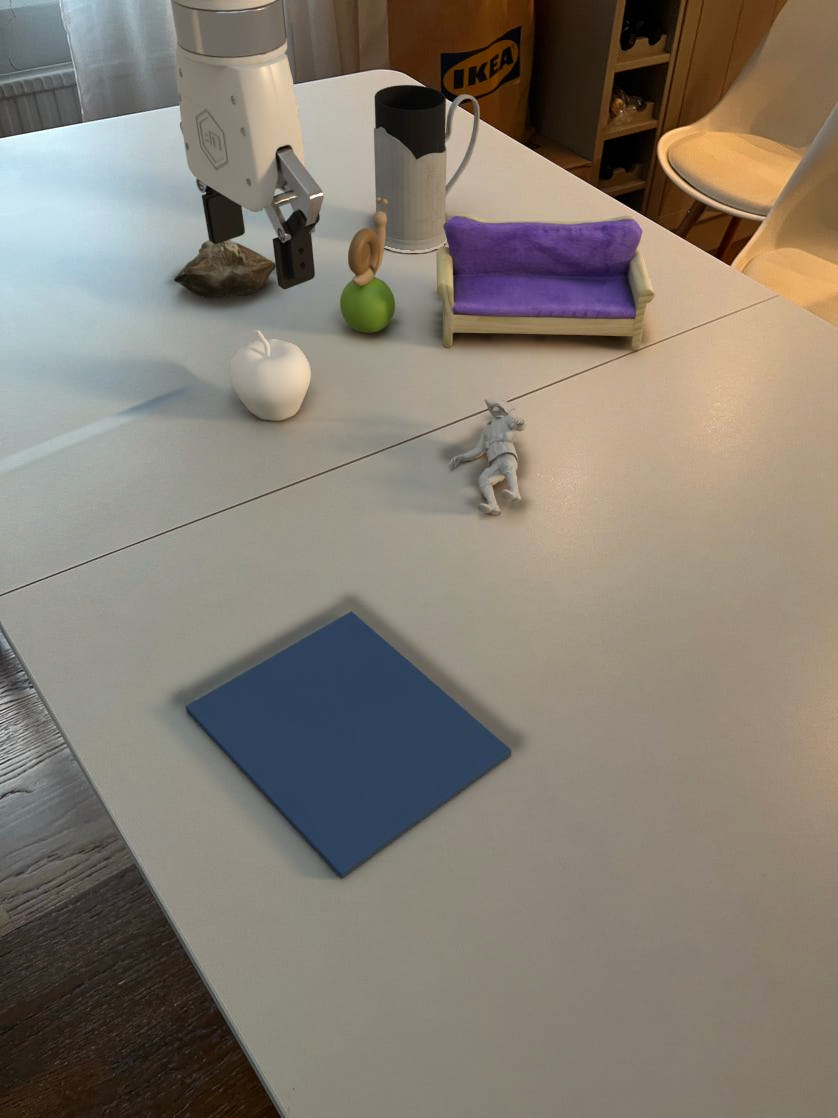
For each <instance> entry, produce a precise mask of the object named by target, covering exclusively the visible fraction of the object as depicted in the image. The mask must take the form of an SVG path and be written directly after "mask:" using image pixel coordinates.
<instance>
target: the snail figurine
mask: <svg viewBox="0 0 838 1118" xmlns="http://www.w3.org/2000/svg"><path fill="white" fill-rule="evenodd" d="M376 202H377V203H378V204H379V203H381V202H382V204H383V205H385V212H383V211H380V205H379V211H378V212H376V211H375V213H374V215H373V217H372V218H373V224H374V225H373V229H372V228H368V227H364V228H361V229H359V230H358V231H357V232H355V234H354V236H353V237H352V239H351V241H350V243H349V247H348V252H347V262H348V263H347V264H348V267H349V269H350V271H351V272H352V273H353V274H354V277H352V280H350V281H349V282H348V283H347V284H346V285H345V287H344V288H343V289H342V292H341V295H340V298H339V299H340V301H339V307H340V312H341V315H342V318H343V319H344V321H345V322H346V323H347V324H348V326H350V327H351V328H352V329H354V330H355V331H357V332H359V333H364V334H374V333H377V332H380V331H381V330H383V329H385V328H386V327H388V325H389V324H390V322H391V321H392V319H393V317H394V315H395V310H396V301H395V300H396V299H395V296H394V293H393V291H392V289H391V288H390V286H389V285H388V284H387V283H386V282H385V281H384V280H382V279H381V278H379V277H377V276H376V274H377V272H378V271H379V269H380V267H381V265H382V262H383V257H384V254H385V253H384V252H385V249H384V247H385V237H386V232H385V226H386V222H387V216H386V205H387V203H388V201H387V200H386V199H383V200H381V198H379V197H378V198H377V199H376V198H375V203H376Z"/></svg>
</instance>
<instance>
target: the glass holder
mask: <svg viewBox="0 0 838 1118" xmlns="http://www.w3.org/2000/svg"><path fill="white" fill-rule="evenodd" d="M468 99H469V100H470V101H471V103H472V105H473V123H472V124H473V125H472V130H471V136H470V140H469V143H468V147H467V149H466V152H465V154H464V157H463V159H462V160H461V163H460V165H459V166H458V168H457V170H456V171H455V173H454V174H453V175H452V177H451V178H450V179H449V181H448V183H447V152H448V151H447V146H446V143H447V142H448V141H449V140H450V139H451V136H452V131H453V119H454V116H455V112H456V110H457V107H458V106H459V105H460V104H461V102H462V101H464V100H468ZM446 112H447V98H446V95H445V94H444V93H443V92H442V91H440V90H438V89H435V88H432V87H429V86H424V85H418V84H399V85H391V86H387V87H384V88H381V89H380V90H378V91H376V92H375V94H374V126H375V127H373V145H374V146H373V149H374V154H373V155H374V181H375V183H374V184H375V185H374V186H375V200H376V199H377V198H378V197H379V198H381V200H383V199H386V200H387V201H388V203H387V205H386V216H387V222H386V226H385V232H386V237H385V246H388V247H391V248H395V249H400V250H410V251H415V250H425V249H430V248H433V247H436V246H438V245H440V244H442V243H443V242H444V241H445V240H446V239H447V238H446V234H445V230H444V227H443V225H444V223H446V202H447V201H446V199H447V196H448V194H449V192H451V190H452V189H453V188H454V186H455V184H456V183H457V182H458V180H459V179H460V177H461V175H462V174H463V173H464V171H465V170H466V168H467V166H468V164H469V163H470V160H471V158H472V155H473V153H474V150H475V146H476V144H477V143H476V142H477V140H478V135H479V129H480V118H481V112H480V105H479V102H478V100H477V99H476V98H475V97H474V96H473V95H470V94H465V93H463V94H460V95H458V96H457V97H456V98H454V100H453V101H452V102H451V104H450V106H449V108H448V112H447V113H446ZM446 115H447V116H446ZM379 205H380V211H383V212H385V205H383V204H382V202H381V203H379V204H378V203H377V202H376V201H375V213H376V212H378V211H379Z"/></svg>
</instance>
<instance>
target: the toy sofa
mask: <svg viewBox="0 0 838 1118" xmlns="http://www.w3.org/2000/svg"><path fill="white" fill-rule="evenodd" d="M443 227H444V230H445V234H446V238H447V246H446V245H445V246H442V247H440V248H439V249H438V250H436V254H435V255H436V291H437V294H438V296H439V297H440V298H442V306H443V326H442V346H443V347H445V348H450V347H452V346H453V334H456V333H463V334H464V333H465V334H468V333H469V334H472V333H473V334H522V335H523V334H527V335H566V336H567V335H568V336H569V335H570V336H573V335H574V336H609V337H627V339H628V343H629V346H630V349H632V350H634V351H637V350H639V349H640V347H641V342H642V335H643V328H644V321H645V315H646V309H647V304H649V303H651V302H652V301H653V300H654V299H655V295H656V294H655V291H654V287H653V283H652V281H651V278H650V275H649V272H648V269H647V265H646V262H645V259H644V255H643V253H642V252H641V251H640V250H639V249H638V247H639V245H640V243H641V239H642V235H643V229H642V228H641V226H640V224H639V222H637V219H636V218H635V217H634V216H633V215H621V216H617V217H611V218H607V219H600V220H553V221H551V220H490V219H485V218H481V217H479V216H475V215H473V214H469V213H466V212H461V211H460V212H459V211H456V212H455V213H454V212H453V213H452V215H451V216H450V219H448V220H447V221H445V223H444V225H443Z"/></svg>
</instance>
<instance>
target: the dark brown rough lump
mask: <svg viewBox="0 0 838 1118" xmlns="http://www.w3.org/2000/svg"><path fill="white" fill-rule="evenodd" d="M275 270H276V264H275V262H274V261H272V260H271V259H269V258H267V257H265V256H264V255H262V254H260V253H259V252H257V251H255V250H252V249H250V248H249V247H246V246H245V245H243V244H240V243H237V242H236V241H233V240H231V239H230V240H227V241H224V242H221V243H219V244H214V243H212V242H211V241H210V240H209V239H208V240H206V241H205V242H203V243H201V247H200V248H199V249H198V254H197V255H196V257H194V258H193V259H192V260H190V261H189V262H187V264H186V265H184V267H183V268H182V269H181V270H180V271H179V272H178V274H177V275H176V276H175V277H174V279H173V281H174V282H175V283H178V284H179V285H181V286H182V287H184V288H185V289H186V290H188V291H189V292H191V293H192V294H194V295H196V296H198V297H202V298H204V299H222V298H225V297H229V296H238V297H239V296H248V295H251V294H252V293H255V292H257V291H258V290H260V289H261V288H262V287H263V286H264V285H266V283H267V281H268V279H269V278H270V275H271V274H272V272H273V271H275Z"/></svg>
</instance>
